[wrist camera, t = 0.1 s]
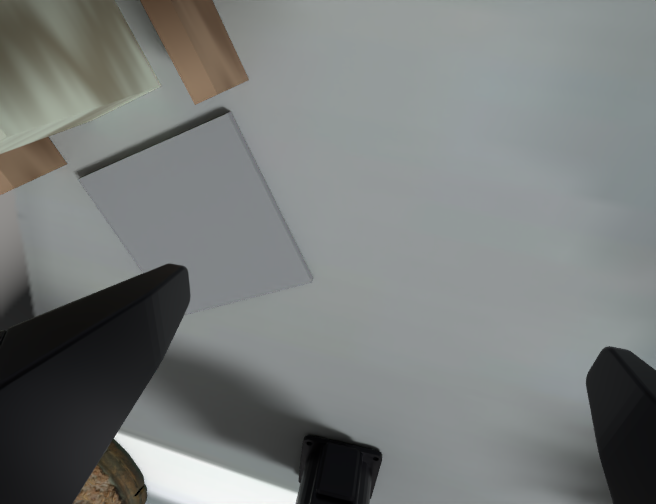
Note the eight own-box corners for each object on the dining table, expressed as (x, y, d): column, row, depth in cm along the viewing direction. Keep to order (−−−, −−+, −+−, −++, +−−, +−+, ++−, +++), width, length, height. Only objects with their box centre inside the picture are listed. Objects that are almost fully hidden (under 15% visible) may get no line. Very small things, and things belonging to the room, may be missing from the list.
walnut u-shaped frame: (249, 79, 21) (185, 109, 16) (53, 170, 26) (-52, 219, 20) (147, -139, 18) (12, -211, 12) (-59, 13, 23) (-227, 18, 17)
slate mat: (313, 278, 27) (311, 282, 27) (177, 313, 31) (174, 317, 30) (230, 111, 22) (227, 113, 22) (83, 176, 26) (77, 179, 26)
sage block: (161, 86, 22) (7, 136, 14) (93, 119, 24) (-81, 183, 16) (105, -17, 20) (-116, -30, 12) (35, 28, 22) (-202, 44, 14)
